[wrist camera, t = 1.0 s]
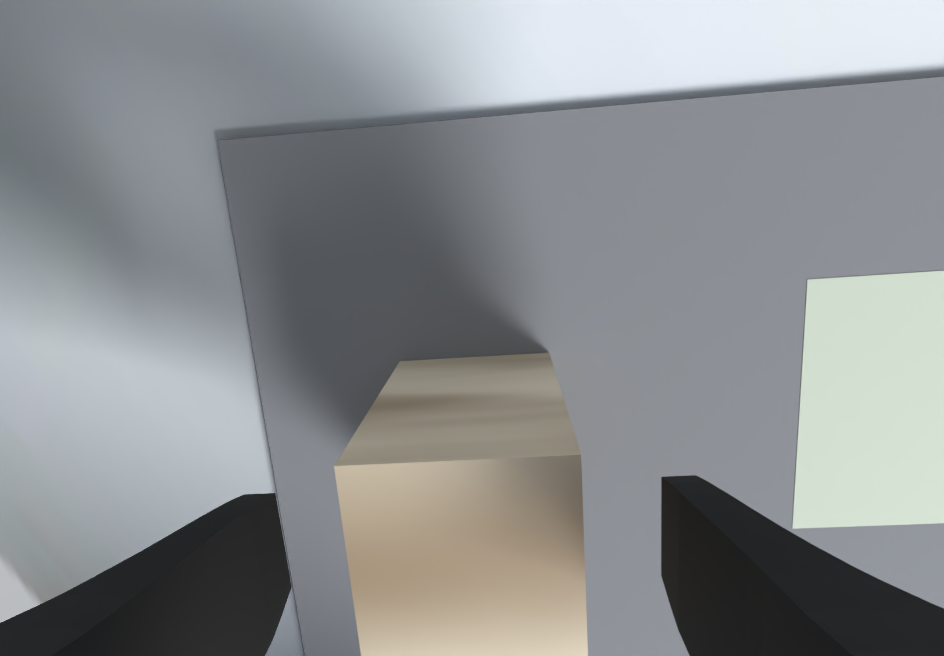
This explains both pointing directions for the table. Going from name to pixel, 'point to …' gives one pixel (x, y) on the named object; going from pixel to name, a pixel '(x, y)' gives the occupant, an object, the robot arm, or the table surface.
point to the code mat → (622, 317)
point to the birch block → (466, 512)
